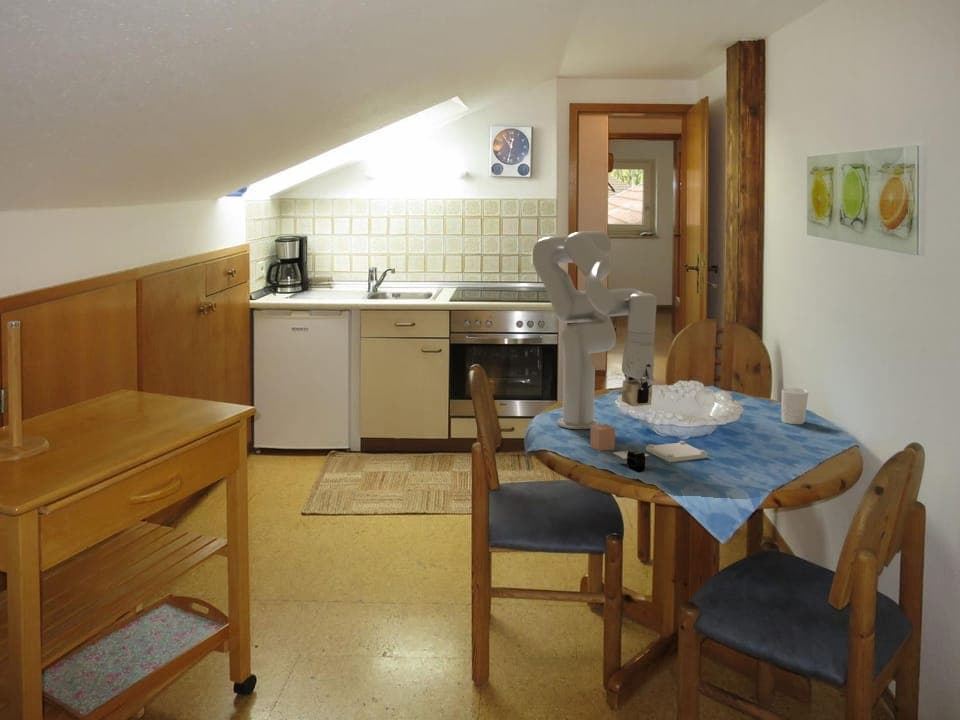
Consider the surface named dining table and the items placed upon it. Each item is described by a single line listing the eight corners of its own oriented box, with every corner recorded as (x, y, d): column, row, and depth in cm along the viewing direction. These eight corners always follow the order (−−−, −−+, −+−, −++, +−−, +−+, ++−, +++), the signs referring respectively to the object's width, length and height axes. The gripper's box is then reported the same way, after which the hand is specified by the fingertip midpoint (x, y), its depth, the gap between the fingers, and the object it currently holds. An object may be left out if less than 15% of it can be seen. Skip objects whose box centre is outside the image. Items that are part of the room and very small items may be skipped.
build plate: (646, 450, 266) (646, 444, 265) (682, 446, 270) (683, 440, 270) (669, 462, 255) (669, 456, 254) (707, 457, 259) (707, 451, 259)
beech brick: (621, 400, 270) (622, 380, 269) (640, 399, 273) (641, 379, 271) (632, 406, 265) (633, 385, 264) (651, 404, 267) (652, 384, 266)
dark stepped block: (611, 464, 255) (611, 447, 254) (633, 460, 258) (634, 444, 257) (639, 476, 244) (639, 458, 243) (662, 472, 247) (662, 455, 247)
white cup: (774, 419, 301) (776, 388, 299) (795, 418, 303) (798, 387, 301) (789, 425, 293) (791, 394, 291) (811, 424, 295) (813, 392, 294)
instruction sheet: (612, 453, 263) (612, 452, 263) (638, 450, 266) (638, 449, 266) (623, 458, 258) (623, 458, 257) (649, 455, 260) (649, 455, 260)
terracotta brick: (590, 446, 270) (590, 425, 269) (605, 444, 272) (606, 424, 271) (598, 450, 265) (599, 430, 264) (614, 449, 267) (615, 428, 266)
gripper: (613, 332, 271) (609, 393, 275) (644, 344, 255) (640, 409, 259) (636, 331, 274) (632, 391, 278) (668, 343, 258) (664, 407, 262)
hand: (636, 399), depth 268 cm, fingers closed on beech brick, 6 cm apart
